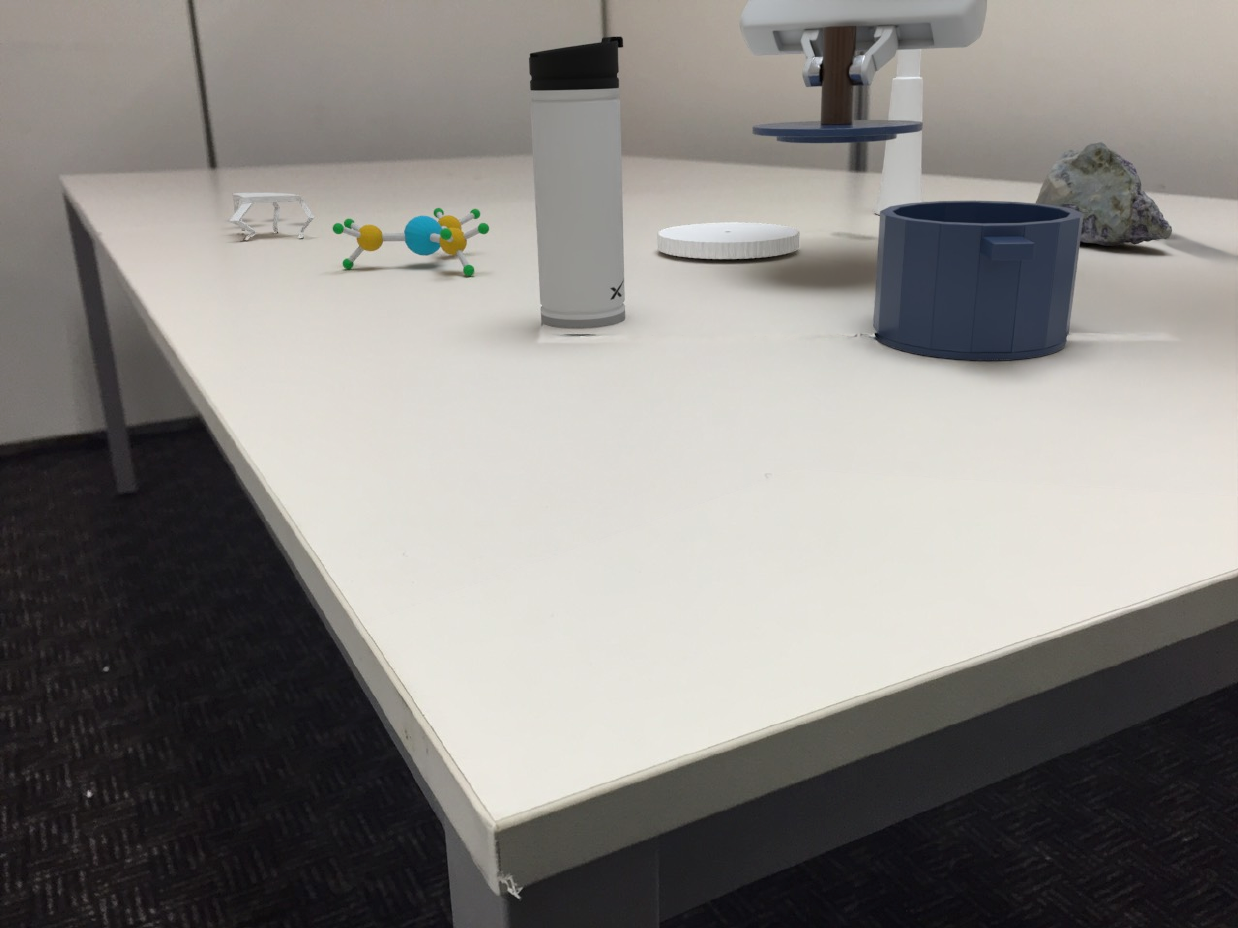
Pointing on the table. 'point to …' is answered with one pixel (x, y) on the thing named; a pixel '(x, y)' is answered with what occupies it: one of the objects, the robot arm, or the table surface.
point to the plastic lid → (728, 240)
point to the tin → (976, 278)
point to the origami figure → (252, 198)
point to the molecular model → (418, 236)
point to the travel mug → (578, 184)
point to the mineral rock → (1104, 197)
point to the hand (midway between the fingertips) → (835, 81)
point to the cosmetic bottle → (904, 136)
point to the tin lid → (837, 102)
